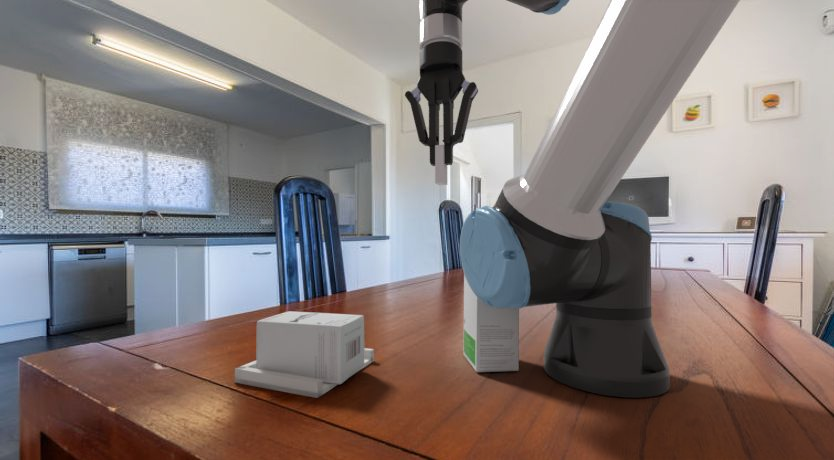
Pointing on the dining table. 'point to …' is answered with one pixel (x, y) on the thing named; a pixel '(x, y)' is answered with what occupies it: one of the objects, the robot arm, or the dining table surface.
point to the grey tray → (288, 379)
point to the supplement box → (311, 345)
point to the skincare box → (490, 335)
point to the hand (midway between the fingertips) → (441, 183)
